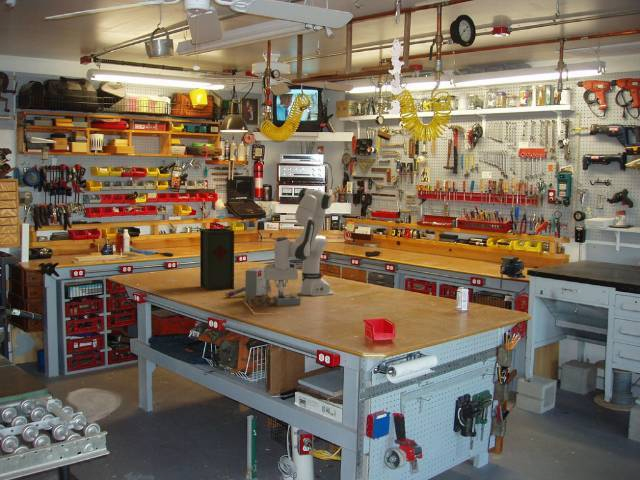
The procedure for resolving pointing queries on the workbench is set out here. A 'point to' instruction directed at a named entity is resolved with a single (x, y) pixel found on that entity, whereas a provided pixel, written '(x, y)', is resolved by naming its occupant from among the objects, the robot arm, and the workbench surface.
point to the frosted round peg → (281, 289)
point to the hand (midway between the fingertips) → (280, 287)
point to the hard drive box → (255, 282)
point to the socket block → (286, 301)
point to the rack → (259, 301)
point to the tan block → (293, 294)
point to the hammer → (268, 289)
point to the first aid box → (217, 259)
